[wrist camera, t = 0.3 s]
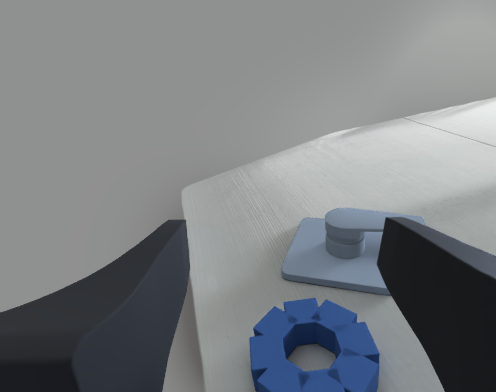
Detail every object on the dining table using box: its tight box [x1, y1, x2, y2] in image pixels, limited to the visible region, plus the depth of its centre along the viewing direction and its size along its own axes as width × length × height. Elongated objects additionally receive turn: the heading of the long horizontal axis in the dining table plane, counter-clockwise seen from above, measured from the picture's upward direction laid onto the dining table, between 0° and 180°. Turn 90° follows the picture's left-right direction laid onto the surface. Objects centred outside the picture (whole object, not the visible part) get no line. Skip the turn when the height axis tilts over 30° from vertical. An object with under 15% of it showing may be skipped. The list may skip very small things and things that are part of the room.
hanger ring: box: [250, 298, 379, 392], centre depth 27 cm, size 10×10×3 cm
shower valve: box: [281, 208, 425, 295], centre depth 39 cm, size 12×6×15 cm
